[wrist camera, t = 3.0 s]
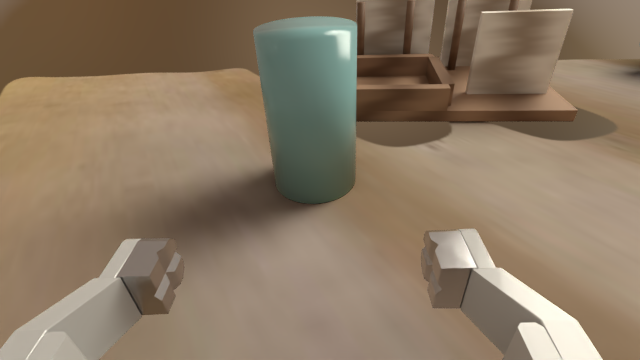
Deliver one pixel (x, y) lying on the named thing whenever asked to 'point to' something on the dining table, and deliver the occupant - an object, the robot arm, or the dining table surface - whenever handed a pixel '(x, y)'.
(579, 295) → the dining table surface
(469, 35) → the rack
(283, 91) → the teal glossy cylinder
